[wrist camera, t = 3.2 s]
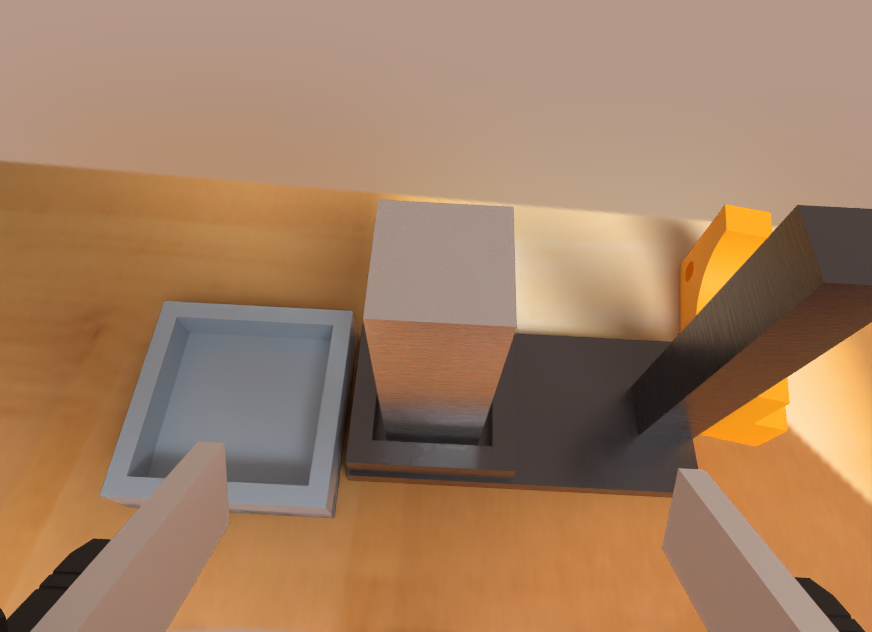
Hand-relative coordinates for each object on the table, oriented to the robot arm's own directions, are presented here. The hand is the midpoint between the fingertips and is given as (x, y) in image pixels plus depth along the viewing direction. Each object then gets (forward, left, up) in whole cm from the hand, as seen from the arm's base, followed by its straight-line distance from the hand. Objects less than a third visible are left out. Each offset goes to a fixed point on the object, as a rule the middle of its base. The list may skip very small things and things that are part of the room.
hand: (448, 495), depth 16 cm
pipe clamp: (+17, +13, -15) cm, 26 cm away
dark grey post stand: (+4, +8, -14) cm, 17 cm away
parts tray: (-11, +7, -14) cm, 19 cm away
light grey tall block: (-1, +8, -13) cm, 15 cm away
